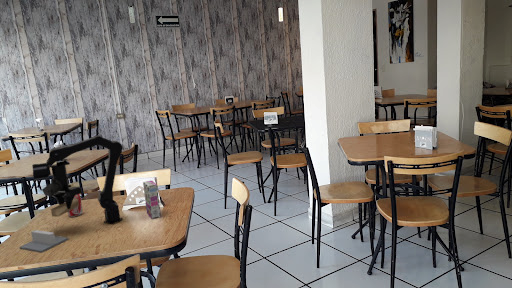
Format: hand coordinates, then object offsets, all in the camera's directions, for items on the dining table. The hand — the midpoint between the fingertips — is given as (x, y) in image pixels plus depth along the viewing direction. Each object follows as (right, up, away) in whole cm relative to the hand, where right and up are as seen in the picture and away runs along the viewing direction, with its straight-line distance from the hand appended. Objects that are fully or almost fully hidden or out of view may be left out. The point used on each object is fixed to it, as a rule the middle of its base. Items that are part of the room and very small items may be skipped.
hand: (65, 208), depth 180 cm
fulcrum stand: (-4, -14, -11) cm, 18 cm away
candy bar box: (+37, -6, +15) cm, 40 cm away
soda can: (-6, -8, +24) cm, 26 cm away
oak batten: (0, -1, 0) cm, 1 cm away
